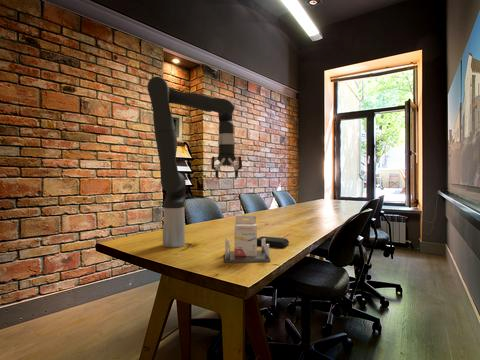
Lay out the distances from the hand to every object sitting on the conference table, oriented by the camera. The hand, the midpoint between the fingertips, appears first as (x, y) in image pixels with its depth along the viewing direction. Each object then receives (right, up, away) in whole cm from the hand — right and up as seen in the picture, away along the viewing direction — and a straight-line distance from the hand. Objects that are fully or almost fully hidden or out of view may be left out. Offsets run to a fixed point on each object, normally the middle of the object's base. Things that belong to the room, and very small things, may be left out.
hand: (226, 178), depth 132 cm
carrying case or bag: (+21, -31, -5) cm, 37 cm away
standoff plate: (+9, -30, -25) cm, 40 cm away
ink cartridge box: (+8, -30, -25) cm, 40 cm away
